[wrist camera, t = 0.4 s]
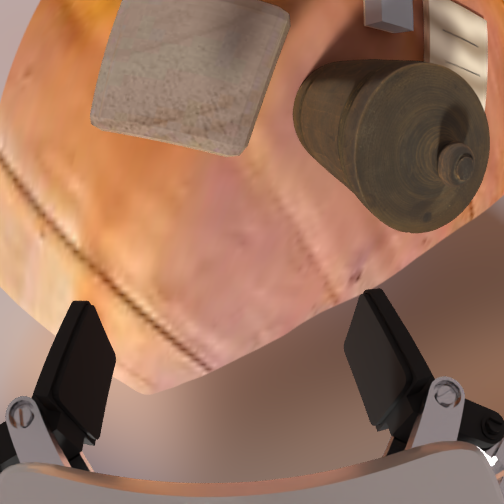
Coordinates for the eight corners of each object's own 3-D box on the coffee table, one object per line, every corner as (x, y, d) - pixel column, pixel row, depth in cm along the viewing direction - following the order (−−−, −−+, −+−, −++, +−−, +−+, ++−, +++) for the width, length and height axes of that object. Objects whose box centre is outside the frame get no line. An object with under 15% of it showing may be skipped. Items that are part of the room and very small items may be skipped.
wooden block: (175, 27, 26) (126, -26, 9) (257, 47, 29) (300, 8, 12) (152, 103, 31) (81, 131, 14) (232, 121, 33) (243, 165, 17)
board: (421, -9, 23) (427, -11, 22) (480, 20, 24) (486, 20, 23) (417, 139, 36) (422, 141, 35) (472, 150, 37) (478, 153, 36)
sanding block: (361, -24, 23) (379, -33, 19) (391, -15, 23) (410, -22, 19) (363, 26, 27) (382, 21, 23) (392, 33, 28) (413, 30, 23)
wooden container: (350, 189, 40) (441, 288, 21) (268, 122, 34) (327, 178, 15) (413, 115, 34) (536, 167, 16) (341, 39, 28) (463, 17, 10)
